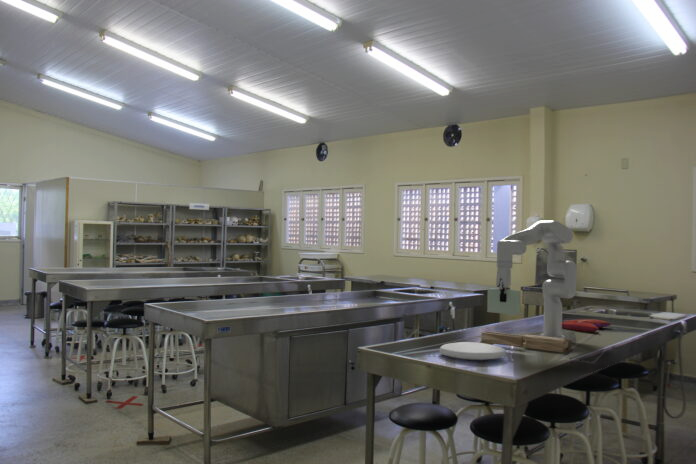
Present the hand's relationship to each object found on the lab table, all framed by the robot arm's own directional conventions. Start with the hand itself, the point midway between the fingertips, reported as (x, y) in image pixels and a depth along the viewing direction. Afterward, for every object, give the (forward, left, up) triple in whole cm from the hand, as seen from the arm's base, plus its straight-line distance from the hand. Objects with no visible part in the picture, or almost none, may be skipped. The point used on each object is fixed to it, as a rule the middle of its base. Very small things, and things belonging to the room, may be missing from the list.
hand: (503, 301), depth 266 cm
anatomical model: (-86, +21, -22) cm, 91 cm away
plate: (+39, -2, -22) cm, 45 cm away
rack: (0, +21, -22) cm, 30 cm away
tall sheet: (0, 0, -6) cm, 6 cm away
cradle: (0, 0, -22) cm, 22 cm away
